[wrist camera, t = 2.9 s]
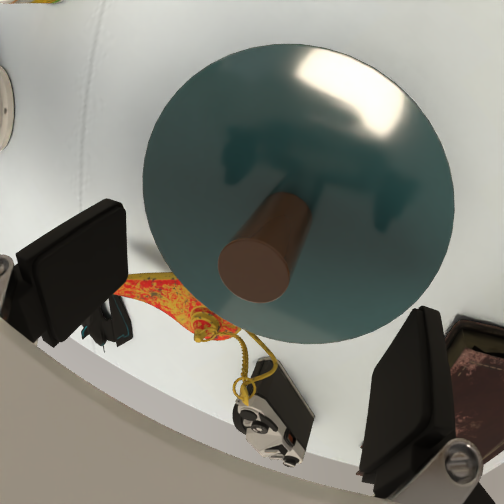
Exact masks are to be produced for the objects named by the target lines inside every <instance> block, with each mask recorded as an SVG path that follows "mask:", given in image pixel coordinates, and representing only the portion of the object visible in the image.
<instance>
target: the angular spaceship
mask: <svg viewBox="0 0 504 504" xmlns="http://www.w3.org/2000/svg"><path fill="white" fill-rule="evenodd" d="M109 304H110V311H111V317H112V320H111V318H109V320H107V319H106V318H104V317H103V315H102V310H101V307H99V308H98V309H97V310H96V311H95V312H94V313H93V314H91V315H90V316H89V317H88V318H87V319H86V320H85V321H84V322H83V323H82V326H83V327H84V328H83V330H82V331H81V334H82V340H83V339H84V338H85V337H86V336H87V335H89V334H90V336H91V337H92V338H93V340H94V341H95V342H96V343H97V344H98V345H100V346H103V345H104V344H105V343H106V341H107V340H109V341H112V342H116V344H117V347H118V346H120V345H122V344H123V343H125V342H127V341H129V340H130V339H132V337H133V334H132V327H131V321H130V319H129V317H128V315H127V313H126V310H125V308H124V306H123V304H122V302H121V300H120V298H119V296H118V295H115V294H113V295H112V296H110V297H109ZM103 349H104V346H103ZM104 353H105V351H104Z"/></svg>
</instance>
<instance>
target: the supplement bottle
mask: <svg viewBox="0 0 504 504" xmlns="http://www.w3.org/2000/svg"><path fill="white" fill-rule="evenodd" d="M61 1H63V0H0V3H3V4H12V3H59V2H61Z"/></svg>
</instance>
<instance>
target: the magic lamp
mask: <svg viewBox="0 0 504 504" xmlns="http://www.w3.org/2000/svg"><path fill="white" fill-rule="evenodd" d="M114 294H115V295H119V296H123V297H128V298H132V299H136V300H140V301H143V302H145V303H148V304H150V305H152V306H154V307H156V308H158V309H160V310H161V311H163V312H165V313H166V314H168V315H169V316H171V317H172V318H173V319H175V320H176V321H177V322H178V323H180V324H181V325H182V326H183V327H185V328H186V329H187V330H189V331H190V332H192V333H194V340H195V341H196V342H198V343H199V342H207V341H210V340H216V341H219V340H226V339H229V338H232V337H235V338H236V339H238V341H240V342H239V343H241V344H240V345H241V346H243V347H241V348H242V351H243V353H242V354H243V355H244V356H242V358H243V359H244V360H242V362H243V363H244V364H242V366H243V368H242V369H241V370H242V373H241V376H242V377H240V378H238V379H237V380H236V381H235V382H234V384H233V392H234V394H235V396H236V397H237V398H239V399H241V400H242V402H243V403H244V404H245V405H247V406H249V399H251V398H252V397H253V396H254V394H255V392H256V386H255V383H254V382H255V381H258V380H261V379H264V378H266V377H268V376H270V375H272V374H273V373H274V372H275V371H276V369H277V366H278V363H277V359H276V358H275V356H274V354H273V353H272V352H271V351H270V350H269V349H268V348H267V346H266V345H265V344H264V343H263V342H262V341H261V340H260V339H259V338H258V337H257V336H256V335H255V334H253V333H251V332H249V331H246V330H245V331H246V332H247V333H248V334H249V335H250V336H251V337H252V338H253V339H254V340H255V341H256V342H257V343H258V344H259V345H260V346H261V347H262V348H263V349H264V350H265V351H266V352H267V354H268V355H269V356H270V357H271V359H272V361H273V364H274V365H273V368H272V369H271V370H270V371H269V372H267V373H265V374H263V375H260V376H257V377H254V378H251V379H250V378H248V377H247V373H248V351H247V347H246V344H245V342H244V341H243V339H241V337H239V336H238V335H236V334H237V333H238V332H239V331H240V330H241V328H239V327H237V326H235V325H233V324H232V323H230V322H228V321H226V320H224V319H223V318H221V317H220V316H218V315H217V314H215V313H214V312H212V311H211V310H209V309H208V308H207V307H206V306H204V305H203V304H202V303H201V302H200V301H198V300H197V299H196V298H195V297H194V296H193V295H192V294H191V293H190V292H189V291H188V290H187V289H186V288H185V287H184V286H183V285H182V283H181V282H180V281H179V280H178V279H177V277H176V276H175V275H174V274H173V272H161V273H140V274H129V275H128V278H127V280H126V282H125V283H124V284H123V285H122V286H121V287H120V288H119V289H118V290H117V291H116V292H115V293H114ZM204 338H205V339H206V340H203V339H204ZM244 361H245V362H244ZM246 363H247V364H246ZM246 367H247V368H246ZM243 369H244V370H243ZM245 372H246V373H245ZM245 376H246V377H245ZM242 379H243V383H242V385H241V388H240V396H239V395H238V394H237V393H236V390H235V386H236V384H237V382H238V381H239V380H242ZM244 381H245V382H244ZM250 383H252V384H253V387H254V389H253V393H252V394H251V395H250V396H249V397H248V391H247V388H246V386H247V385H248V384H250Z"/></svg>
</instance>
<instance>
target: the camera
mask: <svg viewBox="0 0 504 504" xmlns="http://www.w3.org/2000/svg"><path fill="white" fill-rule="evenodd" d="M277 363H278V366H277V369H276V371H275V372H274V373H273V374H272V375H270V376H268V377H266V378H264V379H261V380H258V381H255V382H254V383H255V386H256V392H255V394H254V396H253V397H252V398H251V399H249V406H247V405H245V404H244V403H243V402H242V400H241V399H239V398H237V399H236V403H235V405H234V408H233V422H234V425H235V427H236V428H237V429H238V430H239V431H240V432H242V433H243V434H245V435H246V440H247V441H248V442H249V443H250V444H251V446H253V448H254V449H255V450H256V451H257V452H258V453H259V454H260V455H262V456H263V457H269V456H271V457H270V459H281V460H282V461H284V462H283V464H284V465H285V466H287V467H294V466H295V465H296V464H301V463H302V461H303V458H304V455H305V452H306V447H307V444H308V440H309V436H310V432H311V428H312V424H313V421H314V414H313V413H312V411H311V410H310V408H309V407H308V405H307V404H306V402H305V401H304V399H303V397H302V396H301V394H300V393H299V391H298V390H297V388H296V387H295V385H294V384H293V382H292V380H291V379H290V377H289V376H288V374H287V373H286V371H285V369H284V368H283V366H282V365H281V363H280V361H278V360H277ZM273 365H274V364H273V361H272V359H271V357H268V358H261V359H258V361H257V363H256V367H255V369H254V371H253V374H252V376H251V378H254V377H257V376H260V375H263V374H265V373H267V372H269V371H270V370H271V369H272V368H273ZM251 378H250V379H251ZM246 388H247V391H248V397H249V396H250V395H251V394H252V393H253V389H254V387H253V384H252V383H250V384H248V385H247V387H246ZM239 396H240V395H239Z"/></svg>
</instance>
